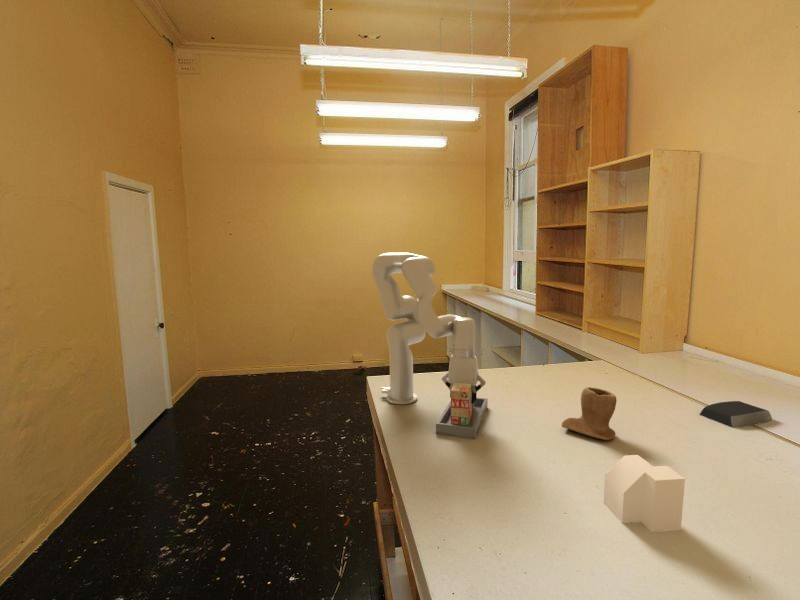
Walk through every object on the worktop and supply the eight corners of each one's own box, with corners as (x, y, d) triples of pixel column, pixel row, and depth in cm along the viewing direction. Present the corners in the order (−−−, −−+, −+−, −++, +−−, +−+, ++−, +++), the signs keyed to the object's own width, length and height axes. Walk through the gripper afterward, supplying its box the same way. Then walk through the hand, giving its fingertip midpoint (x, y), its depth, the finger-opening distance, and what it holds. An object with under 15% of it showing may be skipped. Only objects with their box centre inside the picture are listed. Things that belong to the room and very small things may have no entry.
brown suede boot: (621, 433, 136) (623, 389, 134) (608, 446, 128) (610, 399, 126) (575, 420, 147) (576, 379, 145) (560, 431, 139) (562, 388, 137)
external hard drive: (775, 422, 144) (776, 411, 144) (734, 430, 139) (735, 418, 138) (735, 408, 157) (736, 398, 156) (696, 415, 151) (697, 404, 151)
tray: (435, 433, 138) (435, 423, 138) (454, 403, 164) (454, 395, 164) (474, 439, 134) (474, 428, 133) (487, 407, 160) (487, 398, 159)
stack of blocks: (458, 401, 160) (458, 370, 159) (474, 402, 159) (474, 371, 157) (450, 424, 140) (450, 389, 138) (469, 426, 138) (469, 391, 137)
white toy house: (680, 530, 90) (684, 478, 89) (631, 533, 89) (634, 481, 88) (647, 500, 101) (651, 454, 99) (603, 503, 100) (605, 456, 98)
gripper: (437, 353, 145) (437, 402, 148) (486, 357, 140) (486, 408, 142) (442, 348, 152) (442, 394, 155) (490, 351, 147) (489, 400, 149)
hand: (463, 400), depth 148 cm, fingers closed on stack of blocks, 6 cm apart
